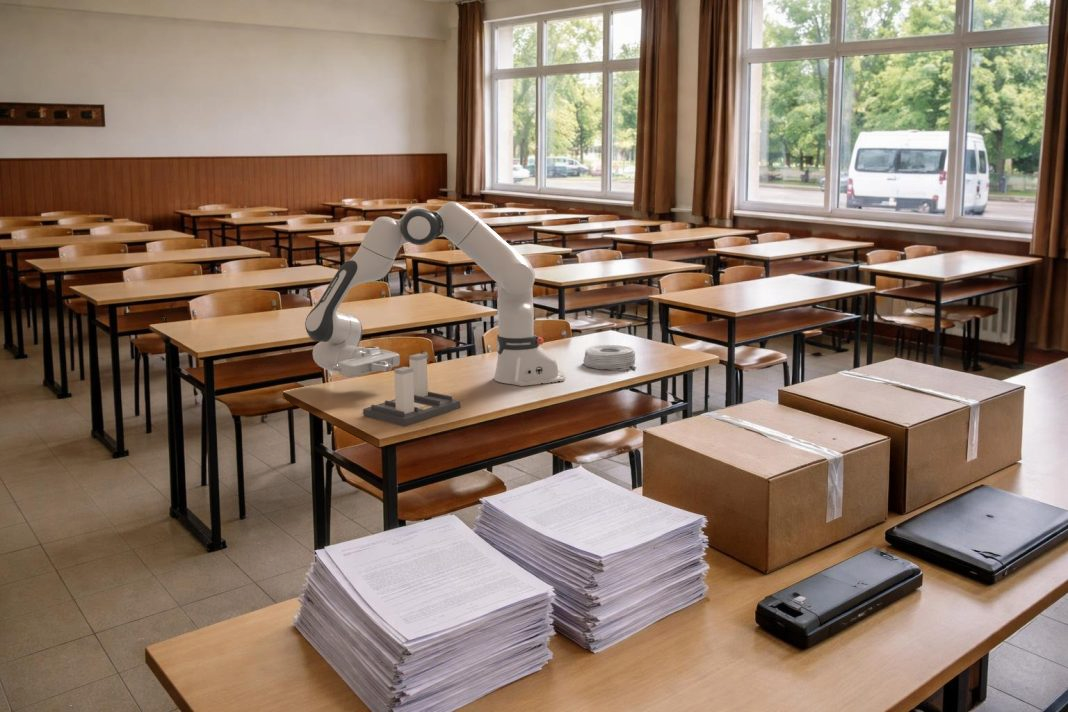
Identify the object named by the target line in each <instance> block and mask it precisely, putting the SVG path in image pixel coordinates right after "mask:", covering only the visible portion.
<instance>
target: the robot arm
mask: <svg viewBox="0 0 1068 712" xmlns="http://www.w3.org/2000/svg"><path fill="white" fill-rule="evenodd" d="M440 236H442V237H445V238H446V239H447V240H449V241H450V242H451V243H452V244H453V245H455V246H456V247H457V248H458V249H459V250H460V251H461V252H462V253H463V254H465V255H466V256H468V258H470V259H471V260H472V261H473V262H474V263H475V264H477V266H478V267H480V268H481V270H483V271H484V273H486V274H487V275H488V276H489V277H490V278H491V279H492V280H493V281H494V282H496V283H497V284H496V285H497V310H498V313H497V314H498V315H497V316H498V319H497V321H498V325H497V326H498V334H497V336H496V338H497V339H496V352H497V362H496V367H495V373H494V375H493V379H494V381H496V382H498V383H503V384H507V385H508V384H509V385H514V386H520V387H526V386H534V385H541V383H543V384H550V383H551V382H552V383H558V381H560V382H564V381H565V380H566V376H565V373H564V372H562V371H561V370H559V368H558V362H557V360H556V358H555V357H554V356H553V355H552V354H551V353H549V352H548V351H546V350H545V349H544V348H542V347H541V346H540V345H544V343H545V341H544V338H543V337H540V336H538V335H536V334H534V333H535V332H534V330H535V329H534V327H535V326H534V325H535V324H534V323H535V322H534V320H535V318H534V317H535V316H534V315H535V314H534V313H535V312H534V295H533V286H534V283H535V281H536V273H535V270H534V268H533V266H532V264H531V262H530V261H529V259H528V258H527V257H526V256H524V255H522V254H520V253H518V251H517V250H515V249H514V248H513V247H512V246H511V245H510V244H509V243H507V241H505V240H504V239H503V238H502V236H500V235H499V234H498V233H497V232H496V231H495V230H494V229H492V228H491V226H489V225H488V224H486V223H485V221H483V220H482V219H481V218H480V217H478V215H476V214H475V213H474V212H472V211H471V210H470V209H468V208H467V207H466V206H463V205H462V204H460V203H458V202H457V201H448V202H447V203H444V204H443V205H442V206H440V207H439V209H438V210H436V211H432V210H429V209H427V208H424V207H414V208H411V209H409V210H407V211H406V212H405V213H404V214H403V215H402V216H401V217H399V218H398V219H396V218H392V217H390V216H379V217H377V218H376V219H375V220H374V221H373V223H372V224H371V225H370V227H369V228H368V230H367V232H366V233H365V235H364V237H363V239H362V241H361V243H360V246H359V247H358V249H357V251H356V252H355V254H354V255H353V256H352V257H351V258H350V259H348V260H347V261H345V262H344V263H343V264H342V265H341V266H340V267H339V268H338V270H337V272H336V273H335V275H334V276H333V278H332V280H331V281H330V282H329V285H328V286H327V288H326V289H325V291H324V292H323V294H322V296H321V297H320V299H319V300H318V302H317V303H316V304H315V306H314V307H313V308H312V309H311V310H310V312H309V313H308V314H307V316H306V319H305V322H304V327H305V331H306V334H307V335H308V337H309V338H310V339H311V340H312V341H314V342H318V343H316V344H315V345H314V347H313V349H312V358H313V360H314V362H315V364H317V366H318V367H320V368H321V369H324V370H327V371H331V372H335V373H338V374H340V375H341V376H343V377H344V376H345V377H348V378H355V377H361V376H364V375H367V374H371V373H375V372H384V373H385V372H387V371H392V369H393V368H394V367H399V366H400V363H401V362H400V361H401V360H400V358H401V357H400V354H399V353H398V352H395V351H392V350H386V349H380V347H379V346H360V343H361V339H362V336H363V326H362V323H361V321H360V319H359V318H358V317H357V316H355V315H351V314H349V313H344V312H339V311H337V310H338V308H339V307H340V306H341V304H342V302H343V300H344V299H345V297H346V296H347V295H348V292H349V291H350V290H351V289H352V288H353V287H356V286H358V285H360V284H363V283H369V282H370V283H371V282H376V281H379V280H381V279H383V278H385V277H386V276H387V274H388V273H389V272H390V270H391V269H392V267H393V265H394V262H395V259H396V257H397V256H398V255H397V254H398V253H399V251H400V249H401V247H403V246H404V245H405V244H406V243H410V244H412V245H415V246H425V245H427V244H429V243H431V242H432V241H433V240H435V239H437V238H439V237H440Z"/></svg>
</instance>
